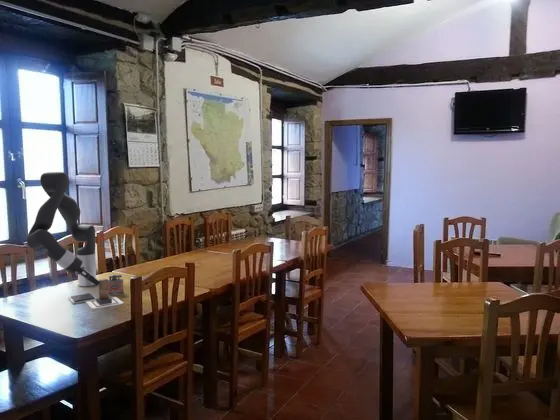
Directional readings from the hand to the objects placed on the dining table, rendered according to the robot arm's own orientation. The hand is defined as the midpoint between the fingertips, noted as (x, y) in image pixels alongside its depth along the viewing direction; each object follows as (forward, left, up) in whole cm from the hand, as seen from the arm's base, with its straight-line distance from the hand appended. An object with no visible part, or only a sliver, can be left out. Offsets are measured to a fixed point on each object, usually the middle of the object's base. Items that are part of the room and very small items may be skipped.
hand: (96, 282), depth 215 cm
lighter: (-13, +13, -11) cm, 21 cm away
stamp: (0, +3, -10) cm, 11 cm away
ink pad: (-13, -3, -11) cm, 17 cm away
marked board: (0, +4, -11) cm, 12 cm away
